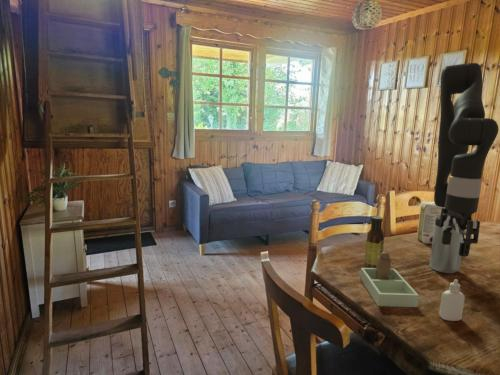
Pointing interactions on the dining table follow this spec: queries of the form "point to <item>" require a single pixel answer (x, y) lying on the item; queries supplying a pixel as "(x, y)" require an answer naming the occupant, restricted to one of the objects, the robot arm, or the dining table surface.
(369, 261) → the sauce bottle
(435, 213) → the juice carton
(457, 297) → the eye dropper bottle
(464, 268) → the dining table surface
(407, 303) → the caddy
